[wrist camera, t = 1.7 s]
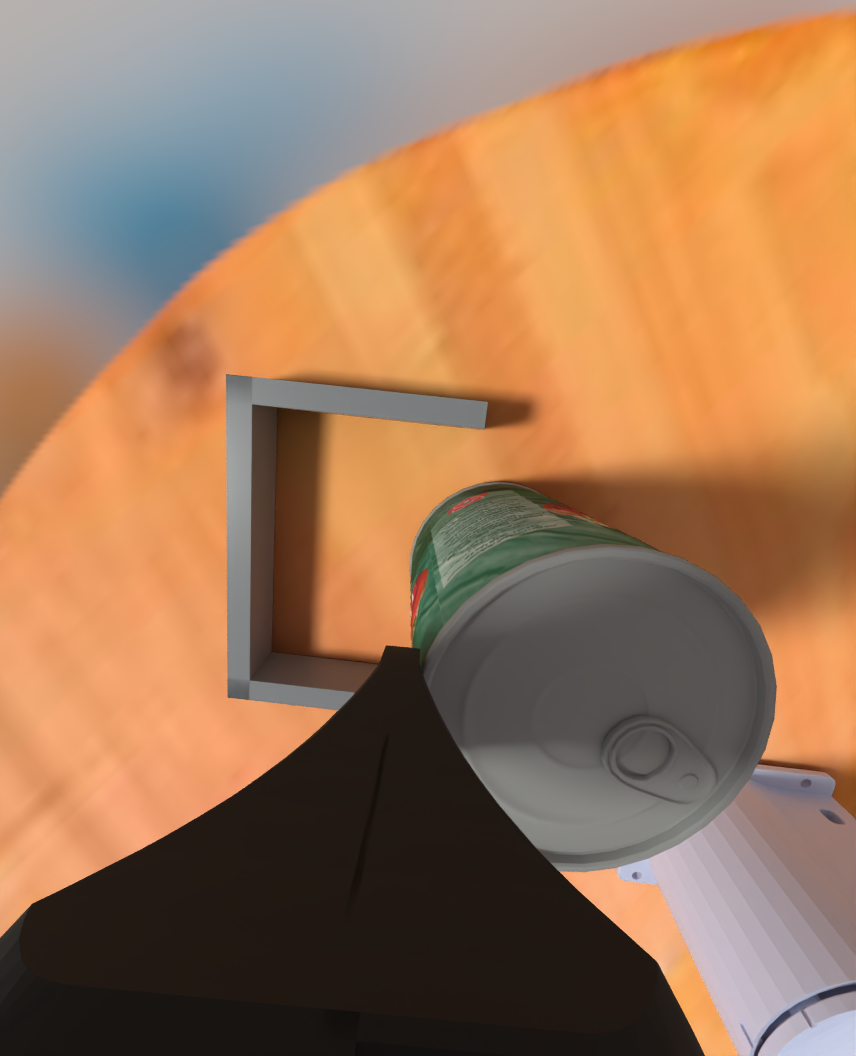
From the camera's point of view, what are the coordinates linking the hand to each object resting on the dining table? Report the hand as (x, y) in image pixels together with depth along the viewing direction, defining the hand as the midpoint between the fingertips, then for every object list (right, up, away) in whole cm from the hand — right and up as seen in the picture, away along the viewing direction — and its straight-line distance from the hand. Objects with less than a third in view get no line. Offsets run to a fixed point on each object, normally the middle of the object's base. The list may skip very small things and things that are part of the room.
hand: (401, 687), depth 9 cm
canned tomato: (+4, +2, +11) cm, 11 cm away
